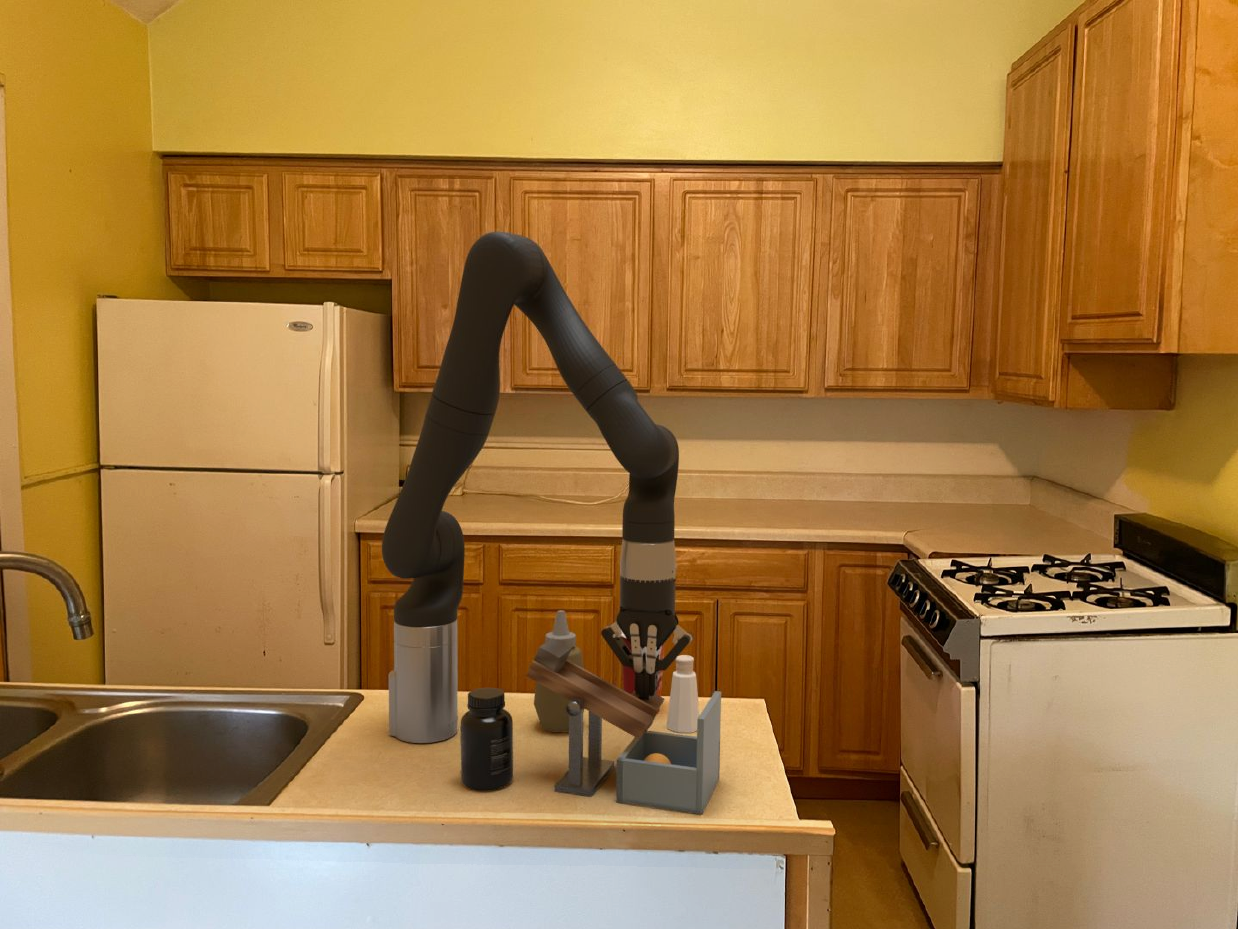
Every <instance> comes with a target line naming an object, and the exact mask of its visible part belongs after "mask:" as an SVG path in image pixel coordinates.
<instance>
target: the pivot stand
mask: <svg viewBox="0 0 1238 929" xmlns="http://www.w3.org/2000/svg"><path fill="white" fill-rule="evenodd" d="M583 703H584V699H575V698H571V699H570V700H569V704H568V705H567V707H566V711H567V713H568V714H569V731H568V770H567V771H566V772H565V773H564V774H562V776H561V777H560V779H558V781H557V782H556V783H555V784H554V787H553V788H554V790H553V792H557V793H562V794H569V795H570V794H571V795H575V796H576V795H577V796H584V797H590V798H591V797H593V795H594V794H595V793H596V791H597V790H598V788H600V786H601V785H602V784H603V782H604V781H605V780H606V778H607V777H608V776H609V775H610V774H611V772H612V771H613V769H614V768H615V760H610V759H602V756H603V755H602V754H603V752H602V751H603V750H602V749H603V748H602V746H603V744H602V743H603V741H602V740H603V738H602V737H603V734H602V732H603V719H602V718H600V717H599V716H597V715H595V714H593V713H591V712H590V711H588V728H587V729H588V732H587V733H588V734H587V735H588V737H587V740H588V741H587V743H588V744H587V751H588V752H587V757H586V756H584V713H583Z"/></svg>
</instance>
